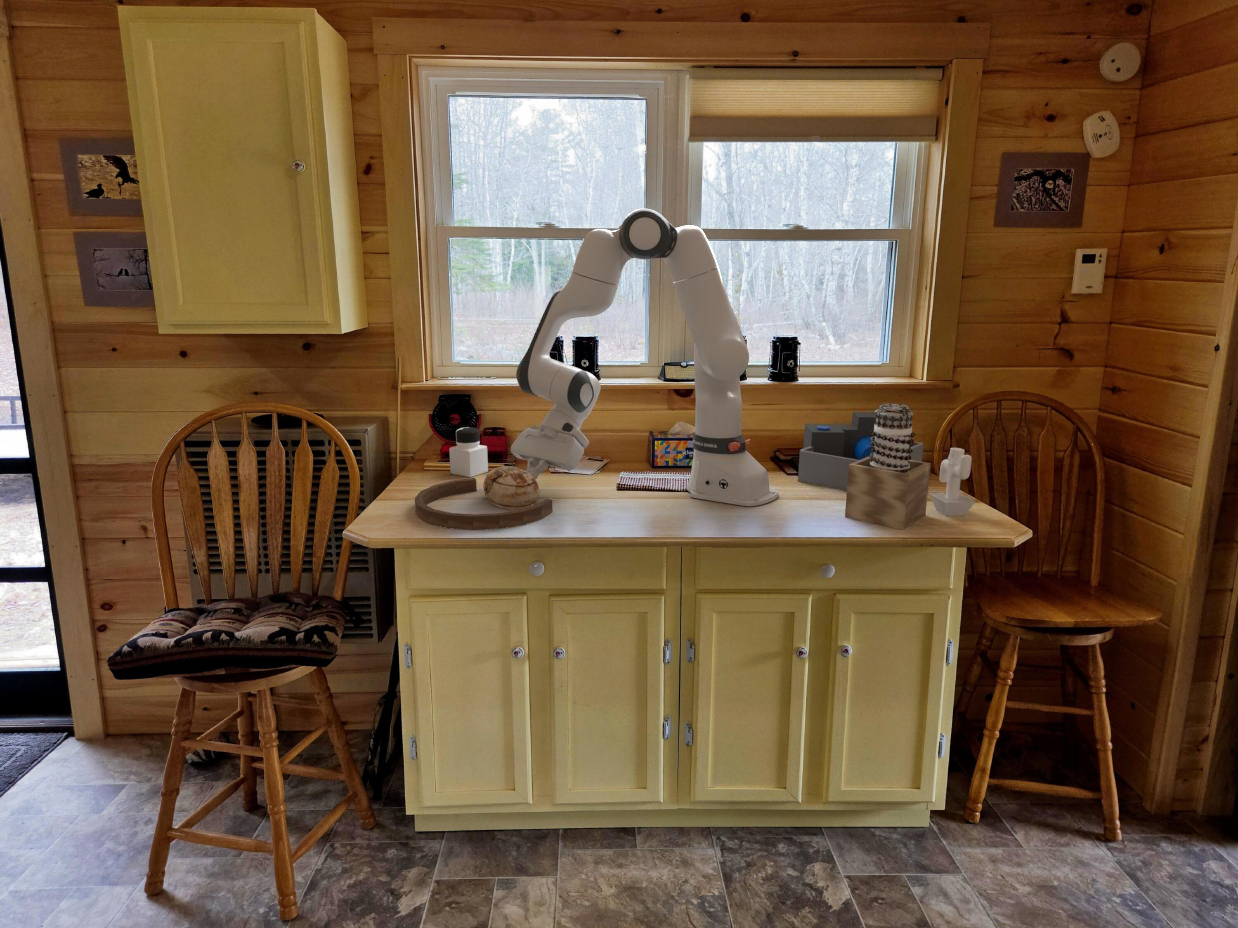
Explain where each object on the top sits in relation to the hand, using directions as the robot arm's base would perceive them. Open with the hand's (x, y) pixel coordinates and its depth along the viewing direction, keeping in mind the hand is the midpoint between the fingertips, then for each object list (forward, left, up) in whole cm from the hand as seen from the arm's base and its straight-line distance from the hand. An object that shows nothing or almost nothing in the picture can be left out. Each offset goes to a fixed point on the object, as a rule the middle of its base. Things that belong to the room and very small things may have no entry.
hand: (529, 476), depth 197 cm
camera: (-50, -70, -5) cm, 86 cm away
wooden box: (-71, -41, -4) cm, 82 cm away
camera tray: (-52, -69, -4) cm, 87 cm away
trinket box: (-1, +7, -5) cm, 8 cm away
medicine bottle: (+27, -3, -5) cm, 27 cm away
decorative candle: (-71, -41, -5) cm, 82 cm away
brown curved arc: (0, +18, -4) cm, 18 cm away
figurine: (-81, -53, -5) cm, 97 cm away
